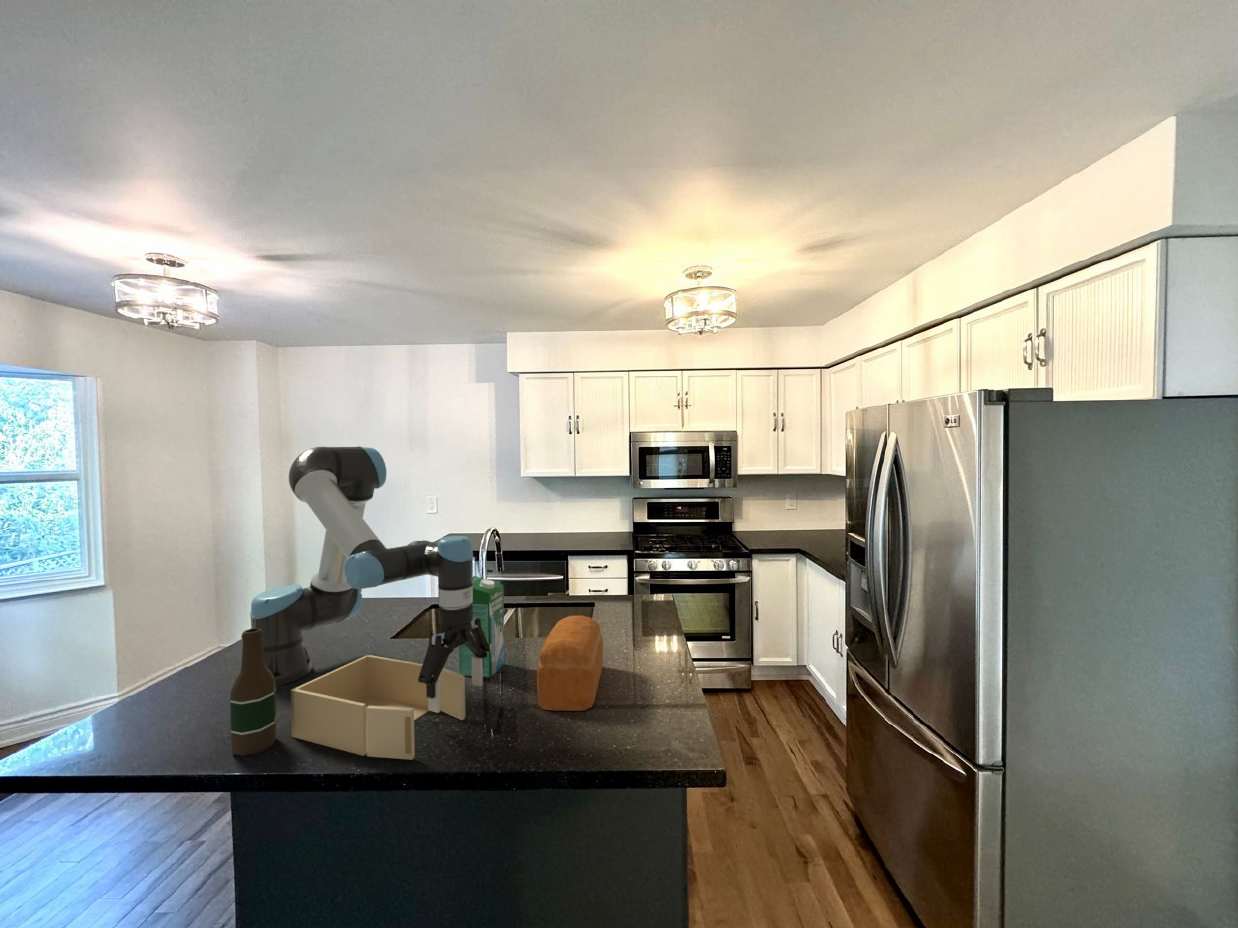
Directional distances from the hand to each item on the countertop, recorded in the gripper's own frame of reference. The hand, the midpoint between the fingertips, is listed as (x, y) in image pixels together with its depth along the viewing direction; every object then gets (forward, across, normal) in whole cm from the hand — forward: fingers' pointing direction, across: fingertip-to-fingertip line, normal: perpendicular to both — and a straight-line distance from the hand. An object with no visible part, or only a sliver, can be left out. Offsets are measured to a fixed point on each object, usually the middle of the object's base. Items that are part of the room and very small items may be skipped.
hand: (456, 697), depth 116 cm
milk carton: (+4, +22, +11) cm, 25 cm away
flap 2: (+4, -1, +1) cm, 4 cm away
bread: (+4, +23, -17) cm, 29 cm away
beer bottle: (+4, -27, +29) cm, 40 cm away
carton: (+4, -11, +16) cm, 20 cm away
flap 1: (+4, -18, 0) cm, 19 cm away
